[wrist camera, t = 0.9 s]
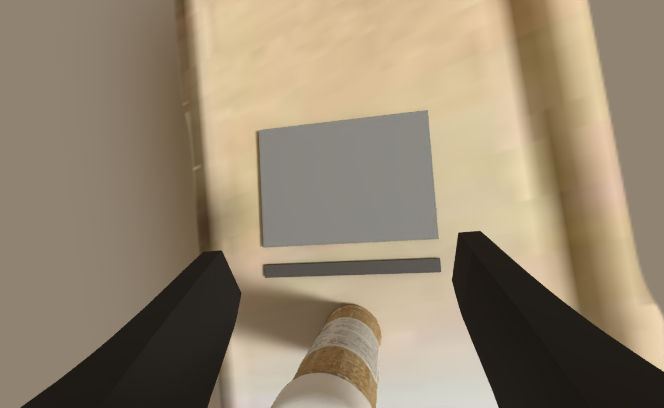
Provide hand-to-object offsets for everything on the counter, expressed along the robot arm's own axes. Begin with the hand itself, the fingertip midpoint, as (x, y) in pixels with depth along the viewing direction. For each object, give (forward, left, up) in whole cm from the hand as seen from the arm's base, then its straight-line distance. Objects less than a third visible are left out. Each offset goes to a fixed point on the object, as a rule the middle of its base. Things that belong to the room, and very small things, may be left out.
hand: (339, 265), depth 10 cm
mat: (+5, +2, -15) cm, 16 cm away
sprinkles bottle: (-7, +2, -15) cm, 17 cm away
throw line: (-2, +2, -15) cm, 15 cm away
